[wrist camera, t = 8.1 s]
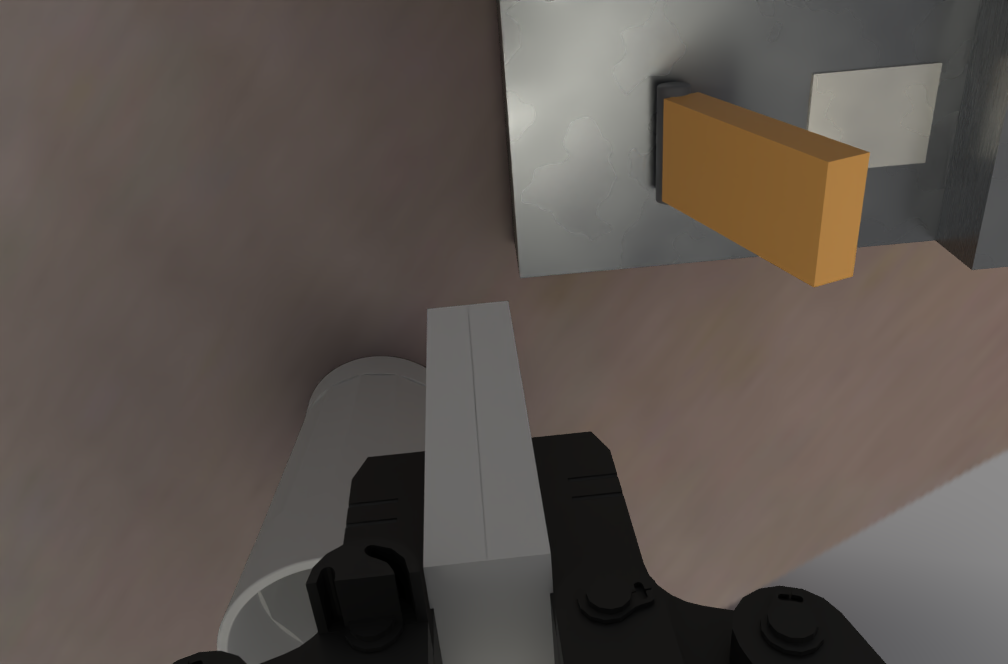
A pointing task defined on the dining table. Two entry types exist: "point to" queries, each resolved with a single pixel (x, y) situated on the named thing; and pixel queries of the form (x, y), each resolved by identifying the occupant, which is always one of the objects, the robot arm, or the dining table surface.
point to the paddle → (761, 182)
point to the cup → (320, 498)
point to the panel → (760, 88)
